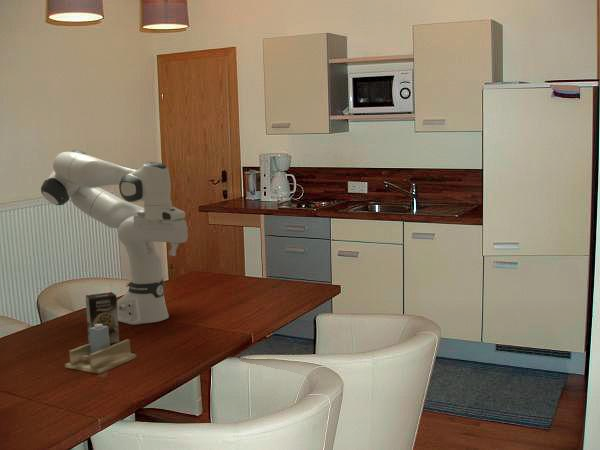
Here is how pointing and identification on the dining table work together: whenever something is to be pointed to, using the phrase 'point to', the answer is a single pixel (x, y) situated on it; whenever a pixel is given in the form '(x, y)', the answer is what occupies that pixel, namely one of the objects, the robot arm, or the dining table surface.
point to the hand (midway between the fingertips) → (161, 254)
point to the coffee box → (103, 313)
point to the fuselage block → (99, 337)
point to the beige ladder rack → (100, 357)
